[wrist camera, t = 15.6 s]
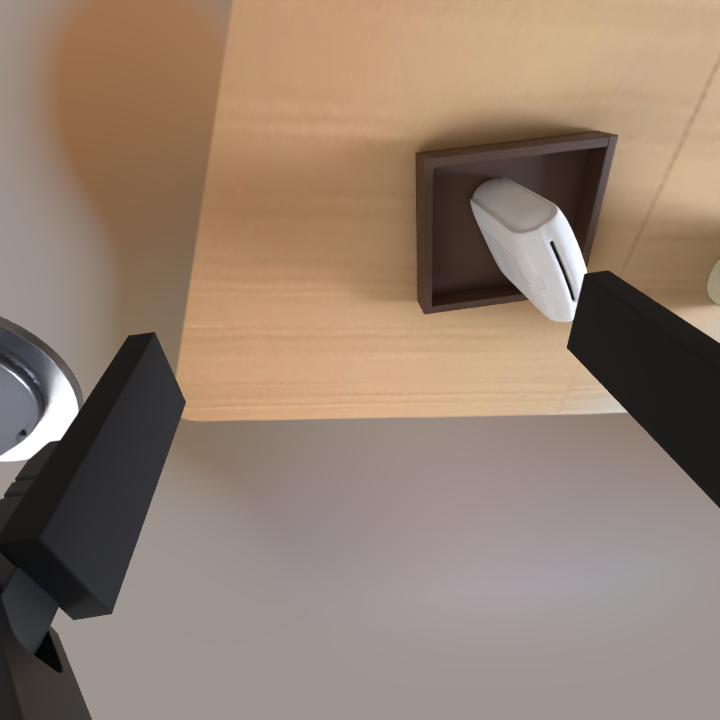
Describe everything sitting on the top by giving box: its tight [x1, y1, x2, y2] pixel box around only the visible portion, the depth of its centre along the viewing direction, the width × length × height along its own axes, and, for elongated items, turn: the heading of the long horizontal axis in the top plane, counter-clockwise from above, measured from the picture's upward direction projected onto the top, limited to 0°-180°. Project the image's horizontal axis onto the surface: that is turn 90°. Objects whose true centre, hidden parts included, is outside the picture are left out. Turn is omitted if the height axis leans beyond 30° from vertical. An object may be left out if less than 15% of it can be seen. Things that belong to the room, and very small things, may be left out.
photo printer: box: [470, 177, 587, 322], centre depth 36 cm, size 10×4×12 cm, turn 33°
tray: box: [416, 131, 618, 314], centre depth 40 cm, size 17×15×3 cm
